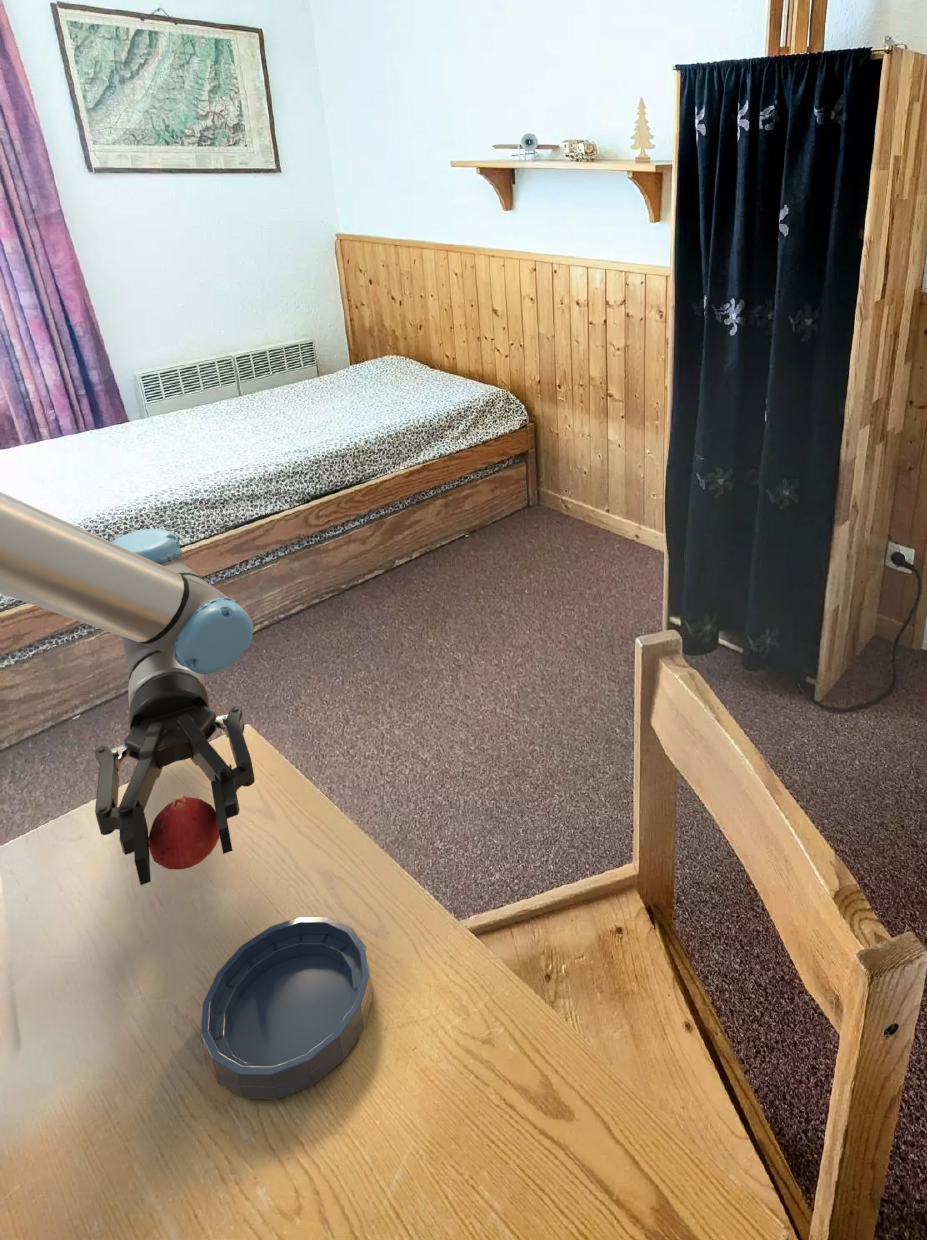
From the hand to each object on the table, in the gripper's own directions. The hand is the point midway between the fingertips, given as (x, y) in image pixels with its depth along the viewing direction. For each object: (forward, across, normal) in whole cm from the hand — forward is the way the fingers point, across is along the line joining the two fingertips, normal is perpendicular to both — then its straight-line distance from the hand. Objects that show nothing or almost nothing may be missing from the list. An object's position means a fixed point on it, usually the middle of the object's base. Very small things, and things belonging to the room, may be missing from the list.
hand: (185, 855), depth 67 cm
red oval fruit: (-5, 0, -6) cm, 8 cm away
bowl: (+9, -6, -13) cm, 17 cm away
